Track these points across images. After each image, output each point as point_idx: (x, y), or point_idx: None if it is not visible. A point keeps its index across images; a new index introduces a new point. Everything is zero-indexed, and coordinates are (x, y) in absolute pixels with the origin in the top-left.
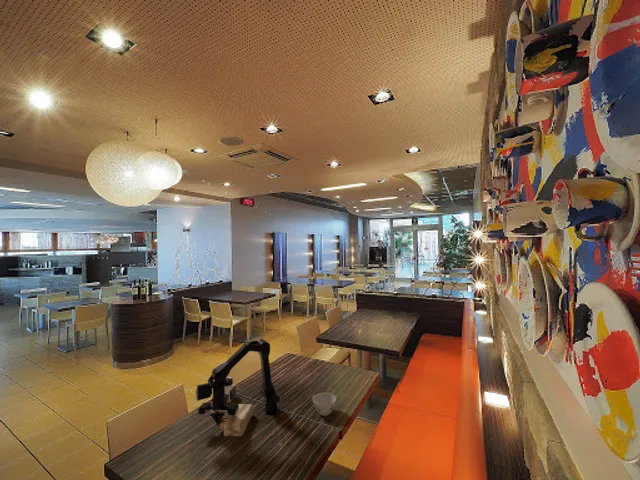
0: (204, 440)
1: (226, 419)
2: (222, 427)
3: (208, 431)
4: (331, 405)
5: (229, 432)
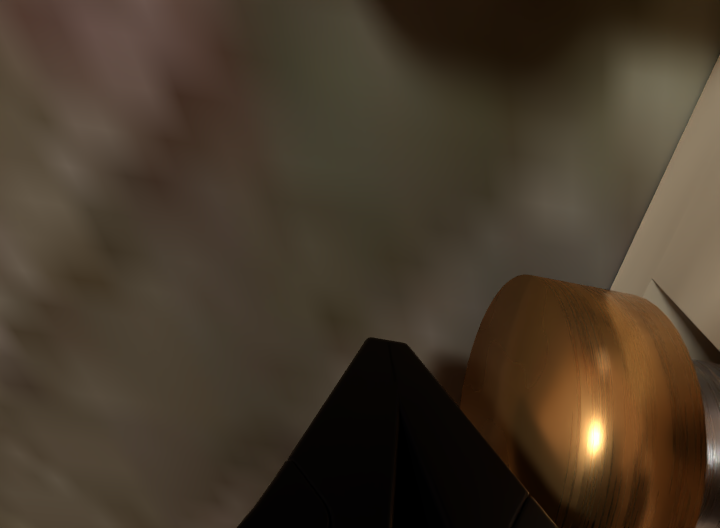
0: (171, 521)
1: (698, 443)
2: None
3: (130, 300)
4: None
5: None
